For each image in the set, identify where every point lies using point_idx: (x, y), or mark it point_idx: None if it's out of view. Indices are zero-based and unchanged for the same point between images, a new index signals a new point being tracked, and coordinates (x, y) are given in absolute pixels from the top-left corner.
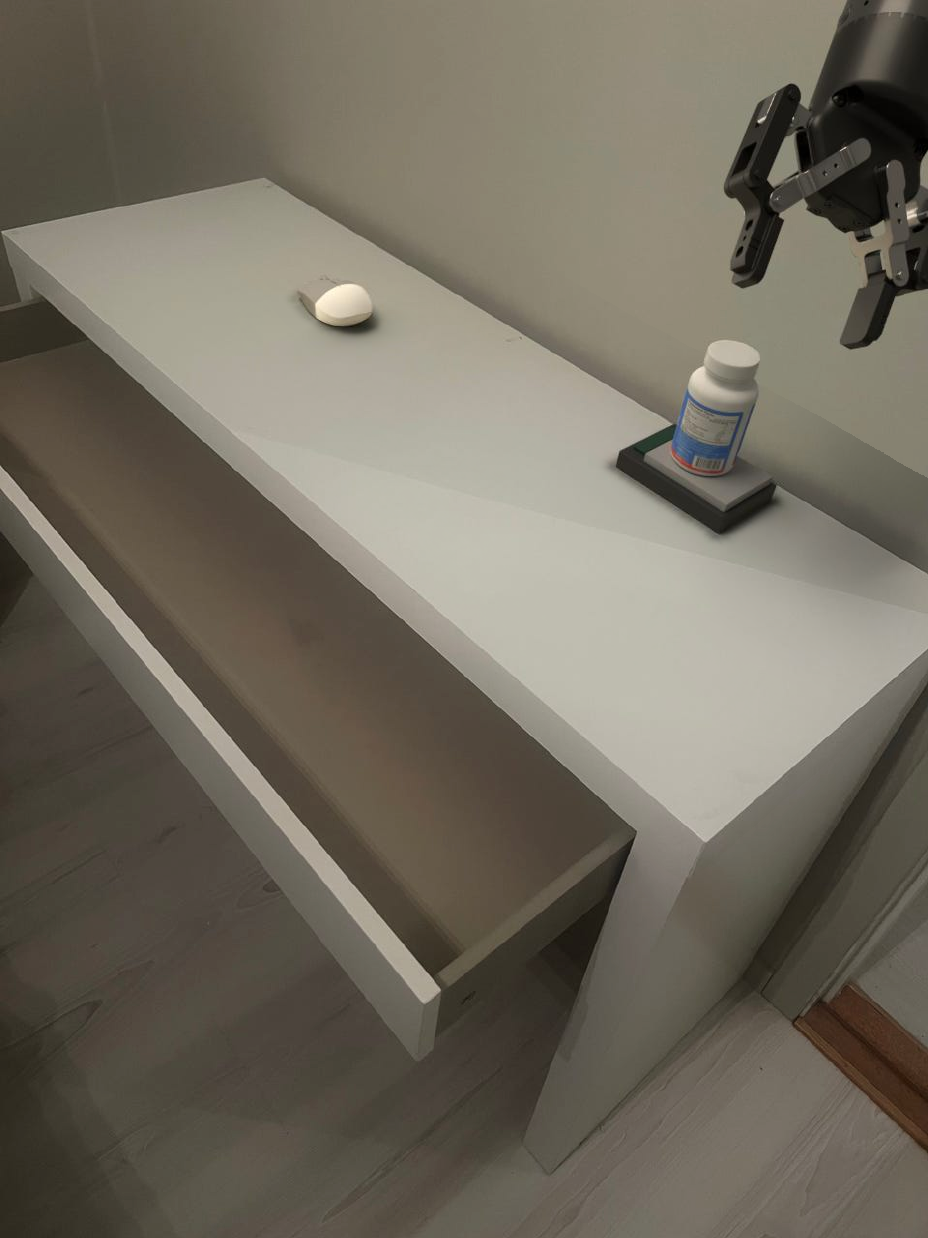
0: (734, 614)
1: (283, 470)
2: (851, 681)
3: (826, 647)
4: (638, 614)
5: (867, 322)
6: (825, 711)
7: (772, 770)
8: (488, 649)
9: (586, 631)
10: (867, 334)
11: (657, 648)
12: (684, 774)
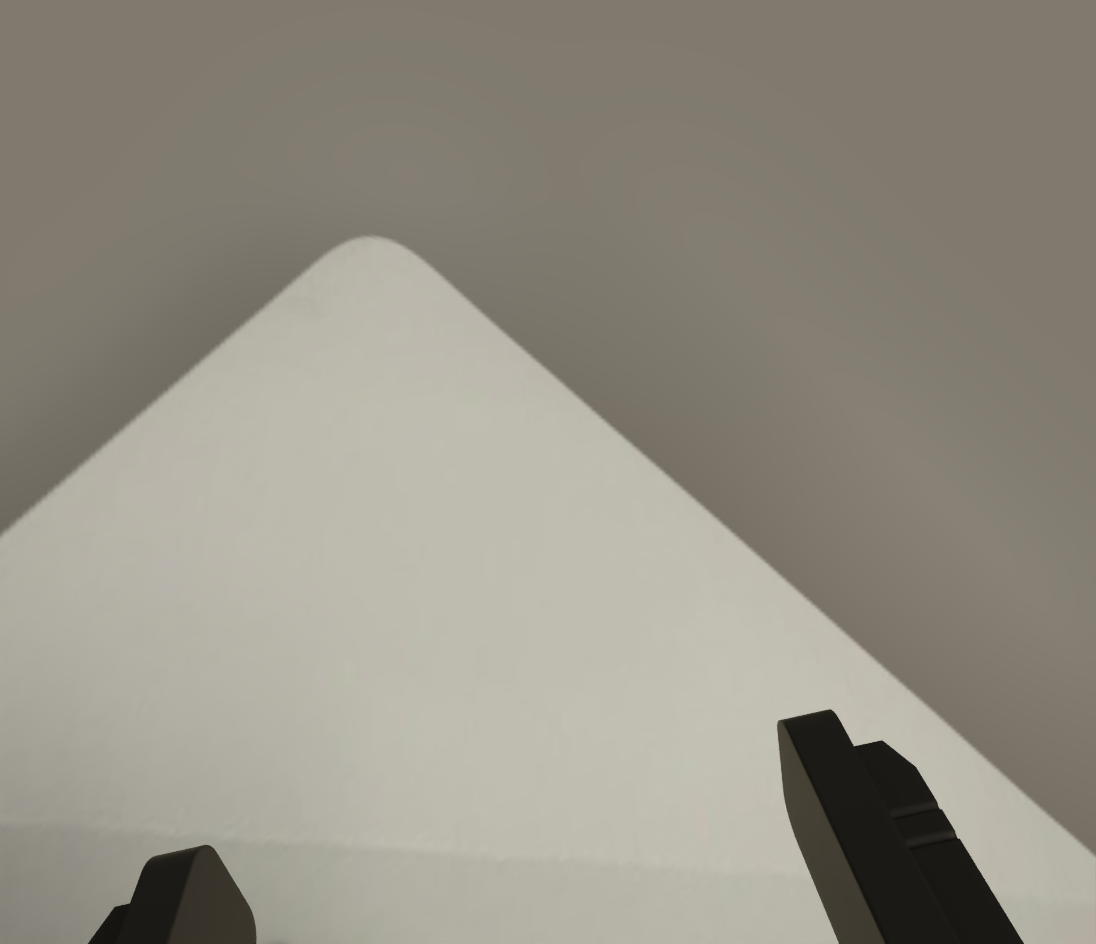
0: (283, 670)
1: (1052, 823)
2: (59, 537)
3: (93, 622)
4: (467, 622)
5: (186, 920)
6: (135, 453)
7: (257, 322)
8: (680, 488)
9: (549, 558)
10: (184, 863)
11: (433, 544)
12: (394, 303)
